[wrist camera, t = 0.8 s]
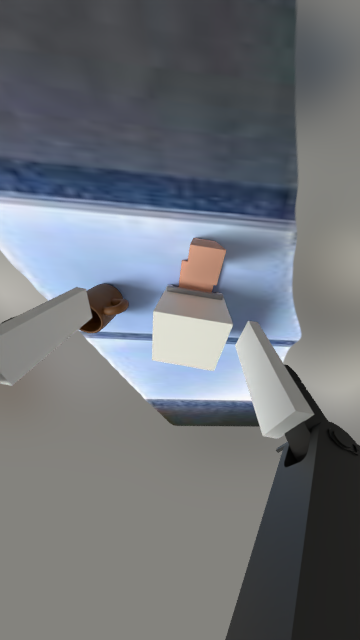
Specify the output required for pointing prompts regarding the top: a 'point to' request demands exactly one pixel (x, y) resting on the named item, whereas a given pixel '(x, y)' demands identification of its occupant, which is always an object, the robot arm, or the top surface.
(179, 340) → the off-white block
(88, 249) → the top surface
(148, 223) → the top surface
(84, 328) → the mug
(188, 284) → the orange l-shaped bracket
